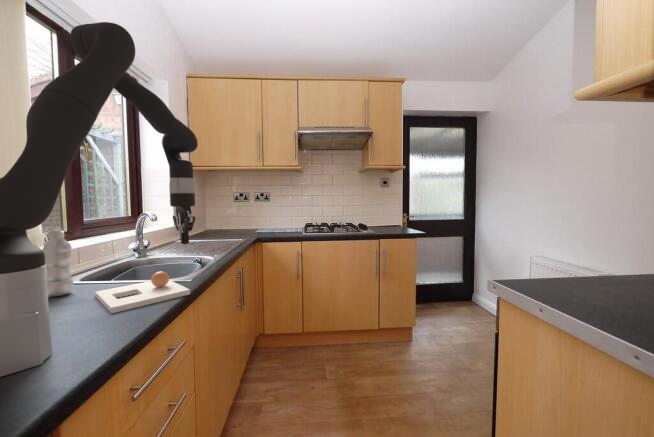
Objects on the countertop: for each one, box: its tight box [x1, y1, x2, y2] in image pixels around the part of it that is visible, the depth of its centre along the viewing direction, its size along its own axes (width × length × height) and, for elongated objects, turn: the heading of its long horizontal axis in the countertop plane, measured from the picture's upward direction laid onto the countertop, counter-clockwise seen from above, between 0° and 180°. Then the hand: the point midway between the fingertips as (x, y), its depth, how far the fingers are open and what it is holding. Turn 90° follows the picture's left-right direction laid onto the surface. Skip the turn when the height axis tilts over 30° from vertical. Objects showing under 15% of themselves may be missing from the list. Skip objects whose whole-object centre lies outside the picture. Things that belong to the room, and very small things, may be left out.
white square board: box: [94, 279, 191, 314], centre depth 90 cm, size 20×20×2 cm
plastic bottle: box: [41, 230, 75, 297], centre depth 90 cm, size 6×7×20 cm
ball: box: [150, 270, 170, 287], centre depth 93 cm, size 5×5×5 cm
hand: (184, 243), depth 98 cm, fingers closed
